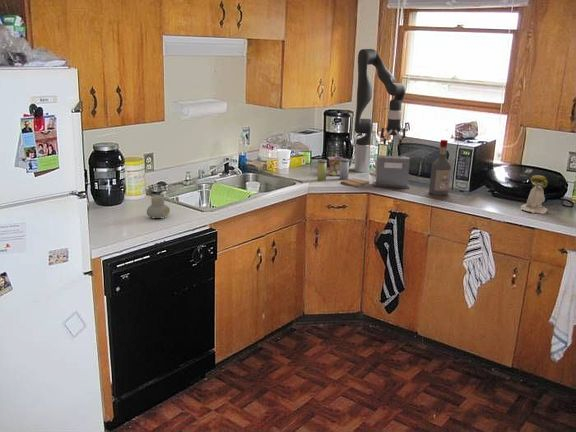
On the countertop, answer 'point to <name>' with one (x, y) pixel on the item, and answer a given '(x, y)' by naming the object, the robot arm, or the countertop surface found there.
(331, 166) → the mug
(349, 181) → the pad
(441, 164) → the liquor
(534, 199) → the beige tapered lump
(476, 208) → the countertop surface
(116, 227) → the countertop surface
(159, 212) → the grey brown bulbous piece
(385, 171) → the box
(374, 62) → the robot arm
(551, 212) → the countertop surface
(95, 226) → the countertop surface
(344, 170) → the cylinder
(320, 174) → the green cartridge
